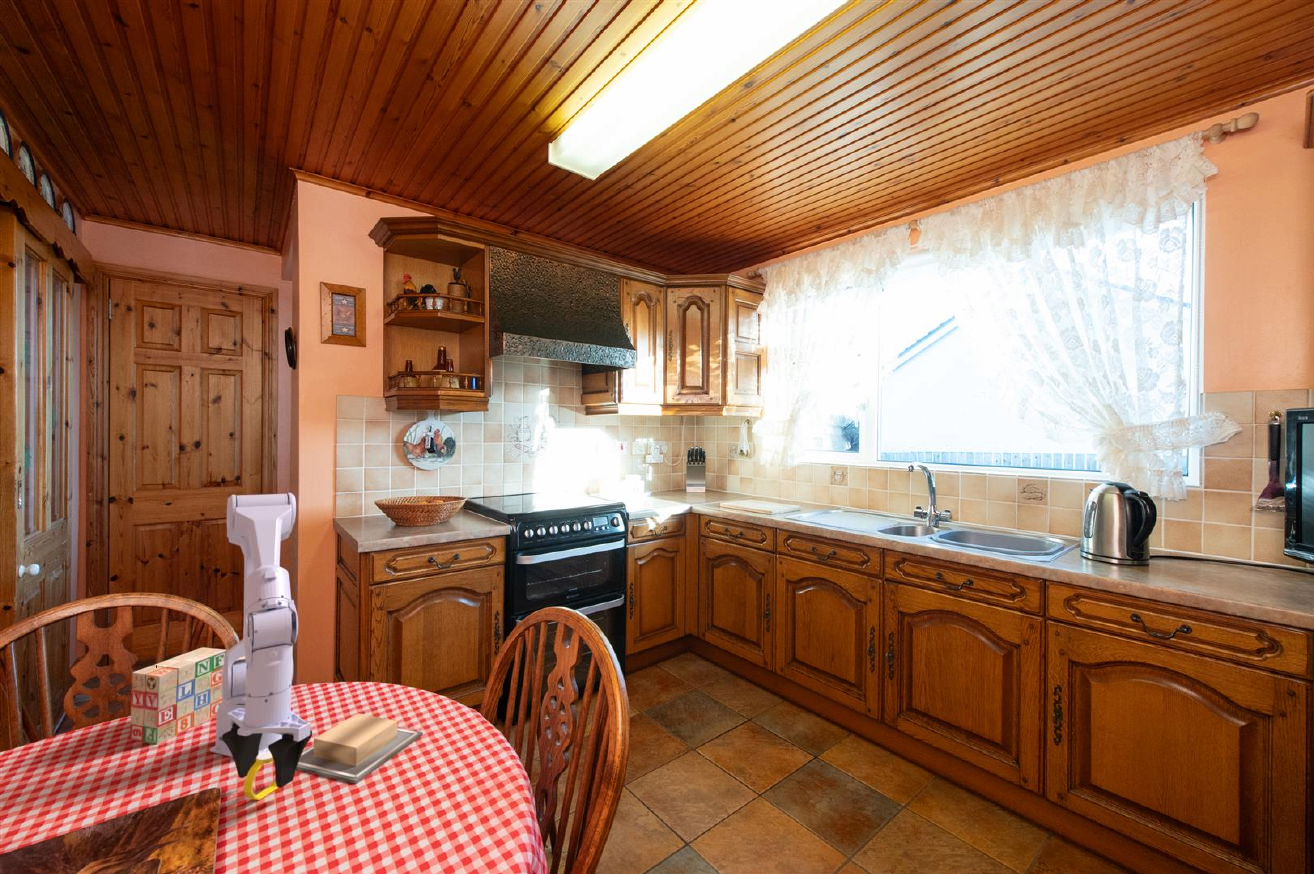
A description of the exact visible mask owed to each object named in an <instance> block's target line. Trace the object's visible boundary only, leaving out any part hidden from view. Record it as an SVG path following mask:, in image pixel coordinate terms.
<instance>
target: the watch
mask: <svg viewBox="0 0 1314 874" xmlns="http://www.w3.org/2000/svg"><path fill="white" fill-rule="evenodd" d="M272 762H274V760H273V757H272V754H271V752H270V751H265V752H263V753H260V754H259V755H258V756H257V757H256V762H255V763H254V765H253V766H252V767H251V768H250V770H249V772H248V774H247V776H245V777H244V781H243V782H244V783H243V793H244V795H245V797H246V798H247V799H250V800H251V799H252V800H255V801H256V800H257V801H261V800H263V798H265V797H267V796H268V795H270V794H272V793H273V792H275V791H276V790H278V789H279V787H277V785H276V778H275V777H274V779H273V781H272V783H270V785H269V786H268V787H266V788H265V789H263V790H262V791H260V792H259V793H257V794H256V795H255V793H254V791H253V787H254V780H255V779H256V777H257V774H258V772H259V770H261V768H262V767H263V766H264V765H265V764H266V765H267V764H269V763H272Z"/></svg>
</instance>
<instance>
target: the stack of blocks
mask: <svg viewBox="0 0 1314 874" xmlns="http://www.w3.org/2000/svg"><path fill="white" fill-rule="evenodd" d="M227 651H228V649H223V648H222V649H221V648H210V647H200V648H197V649H194V650H192V651H189V652H186V653H183V654H180V655H177V656H174V657H171V658H169V659H167V660H164V661H161V662H158V663H156V664H155V663H154V664H153V665H150V666H147V667H144V668H141V669H139V670H135V671H133V672H132V675H131V679H132V680H131V690H130V707H131V708H130V727H129V728H130V729H129V730H130V731H129V732H130V733H129V734H130V735H129V740H130V741H132V740H134V741H133V742H139V743H147V744H150V745H157V746H158V745H159V744H162V743H164V742H166V741H168V740H169V739H172V738H174V737H176V736H178V735H180V733H181V734H182V732H183V733H185V732H187V731H189V730H191V729H193V728H195V727H197V726H199V725H202V724H203V723H205V722H207V721H209V719H213V718H215V717H217V710H218V708H219V705H220V704H221V702H222V701H223V699H224V698H220V697H222V670H223V665H224V656H225V655H226V653H227ZM241 659H245V656H243V657H240V658H238V659H237V660H241ZM156 665H157V668H156ZM201 723H202V724H201ZM190 728H191V729H190ZM188 729H189V730H188ZM173 736H174V737H173ZM165 740H166V741H165Z"/></svg>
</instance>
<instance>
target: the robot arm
mask: <svg viewBox="0 0 1314 874" xmlns="http://www.w3.org/2000/svg"><path fill="white" fill-rule="evenodd" d="M296 501H297V500H296V497H295V495H294V494H293V493H292V492H287V493H273V494H272V493H269V494H247V495H246V494H243V495H241V494H240V495H236V494H231V495H230V496H229V497H228V498H227V505H226V537H227V539H228V543H231V544H233V545H236V546H239V547H240V549H241V552H242V554H243V559H244V563H243V564H244V565H243V566H244V567H243V568H244V569H243V571H244V572H243V574H244V575H243V576H244V577H243V581H244V582H243V627H242V628H243V632H242V639H241V640H240V641H239V642H237V643H236V644H235V645H234V646H232V647H231V648H229V649H228V650H227V653H226V655H225V656H224V665H223V670H222V698H224V699H223V701H222V702H221V704H220V705H219V708H218V710H217V716H216V721H215V723H216V724H215V725H216V727H215V745H214V746H213V747H212V746H211V747H210V749H209V752H211V753H215V754H219V755H223V756H226V757H232V759H233V762H234V764H235V767H236V771H237V774H238V775H237V776H238V777H239V778H241V779H243V778H244V779H245V778H246V776H247V774H248V772H249V770H250V768H251V767H252V766H253V765H254V763H255V762H256V757H257V756H258V755H259V754H260V753H263V752H265V751H270V752H271V754H272V757H273V760H274V761H273V764H274V775H275V777H274V779H275V778H276V785H277V787H278V789H279V788H280V789H281V788H284V787H285V786H287V785H288V784H290V783H291V782H293V781H294V777H295V774H296V772H297V769H296V768H297V765H298V762H299V759H300V757H301V754H302V752H303V751H304V750H305V748H306V746H307V744H308V743H309V741H310V740H311V738H312V737H313V730H311V725H312V724H311V722H310V721H306V720H304V719H302V718H301V717H300V716H299V715H298V714H296V713H295V712H293V711H292V710H291V709H292V685H293V683H292V682H293V679H294V659H293V658H294V657H293V655H294V654H293V648H294V644H296V642H297V638H298V633H299V616H298V611H297V608H296V605H295V601H294V599H292V595H291V594H292V593H291V583H290V574H289V571H288V570H287V569H285V568H284V567H281V566H280V564H281V562H280V561H281V559H280V558H281V542H282V541H284V540H286V539H288V538H289V537H290V534H292V531H293V527H294V524H295V522H296V515H297V503H296ZM291 640H292V641H291ZM243 656H245V659H241V660H237V659H238V658H240V657H243Z"/></svg>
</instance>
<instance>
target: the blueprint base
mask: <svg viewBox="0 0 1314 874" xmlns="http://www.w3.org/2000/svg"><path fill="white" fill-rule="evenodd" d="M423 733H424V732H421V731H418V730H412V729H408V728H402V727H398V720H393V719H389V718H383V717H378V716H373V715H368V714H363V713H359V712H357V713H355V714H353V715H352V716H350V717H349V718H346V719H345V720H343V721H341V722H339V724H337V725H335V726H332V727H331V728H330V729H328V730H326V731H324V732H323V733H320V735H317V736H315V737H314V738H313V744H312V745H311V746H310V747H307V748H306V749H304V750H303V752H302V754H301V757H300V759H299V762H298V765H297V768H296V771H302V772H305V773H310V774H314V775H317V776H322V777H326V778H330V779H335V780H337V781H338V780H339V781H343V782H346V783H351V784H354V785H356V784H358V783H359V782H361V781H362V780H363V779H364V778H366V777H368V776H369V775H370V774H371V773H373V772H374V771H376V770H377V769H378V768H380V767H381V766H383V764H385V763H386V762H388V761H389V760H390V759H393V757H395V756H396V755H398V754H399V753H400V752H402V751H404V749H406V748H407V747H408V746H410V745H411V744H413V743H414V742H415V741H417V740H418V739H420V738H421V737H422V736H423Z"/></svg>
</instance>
